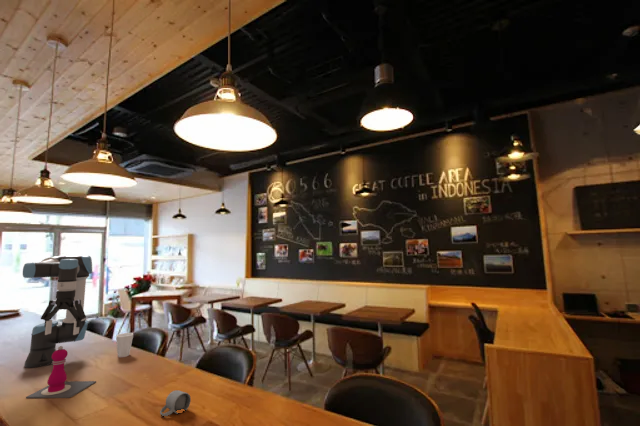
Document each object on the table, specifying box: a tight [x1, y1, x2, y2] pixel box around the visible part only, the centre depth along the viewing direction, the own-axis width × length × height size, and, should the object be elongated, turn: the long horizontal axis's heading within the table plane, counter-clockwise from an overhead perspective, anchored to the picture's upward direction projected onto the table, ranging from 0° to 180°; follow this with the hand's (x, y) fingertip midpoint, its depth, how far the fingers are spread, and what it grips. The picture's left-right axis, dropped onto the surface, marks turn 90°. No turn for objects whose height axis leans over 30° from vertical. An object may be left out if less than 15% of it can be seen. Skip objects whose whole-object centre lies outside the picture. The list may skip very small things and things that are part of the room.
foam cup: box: [115, 332, 134, 358], centre depth 201 cm, size 10×9×13 cm
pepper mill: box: [47, 345, 69, 392], centre depth 151 cm, size 7×7×20 cm
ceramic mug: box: [159, 390, 192, 417], centre depth 130 cm, size 11×8×8 cm
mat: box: [25, 380, 97, 399], centre depth 151 cm, size 20×17×1 cm
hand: (61, 334), depth 153 cm, fingers open, 13 cm apart
